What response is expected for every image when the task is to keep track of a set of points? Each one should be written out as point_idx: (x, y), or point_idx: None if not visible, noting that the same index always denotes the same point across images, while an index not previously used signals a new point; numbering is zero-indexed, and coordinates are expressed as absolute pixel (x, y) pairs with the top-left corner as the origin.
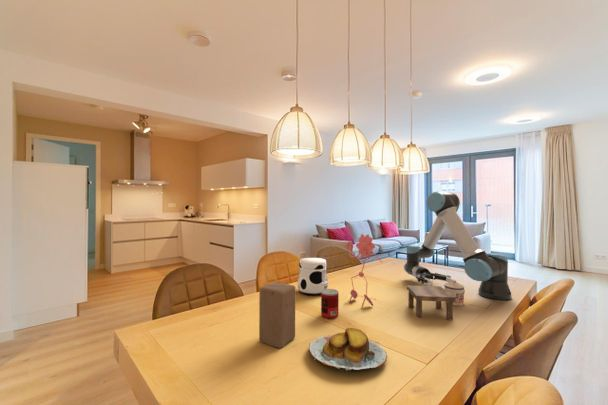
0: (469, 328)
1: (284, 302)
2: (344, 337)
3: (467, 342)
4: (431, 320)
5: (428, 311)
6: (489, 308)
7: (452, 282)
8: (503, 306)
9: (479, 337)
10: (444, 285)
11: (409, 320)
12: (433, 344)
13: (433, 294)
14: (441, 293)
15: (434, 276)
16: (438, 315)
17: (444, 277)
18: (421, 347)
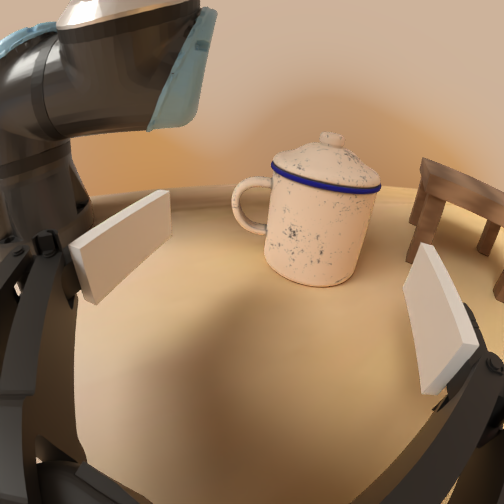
0: (394, 199)
1: None
2: None
3: None
4: (458, 235)
5: (455, 259)
6: (223, 203)
7: (344, 148)
8: None
9: (395, 190)
10: (377, 187)
11: (499, 252)
12: (467, 211)
13: (471, 178)
14: (448, 170)
15: (55, 441)
16: (435, 239)
17: (59, 286)
18: None
